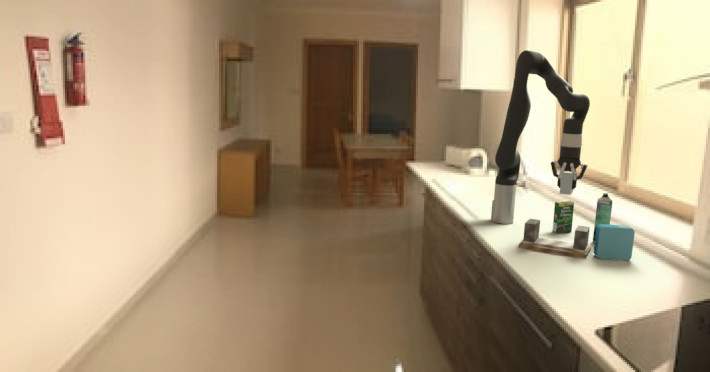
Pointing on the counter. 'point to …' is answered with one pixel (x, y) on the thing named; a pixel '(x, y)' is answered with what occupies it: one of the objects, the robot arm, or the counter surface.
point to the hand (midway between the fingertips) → (566, 188)
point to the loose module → (566, 183)
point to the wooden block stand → (555, 241)
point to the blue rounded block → (614, 242)
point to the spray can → (602, 212)
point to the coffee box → (563, 217)
